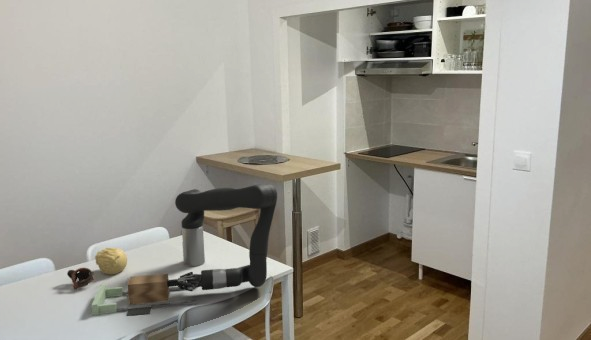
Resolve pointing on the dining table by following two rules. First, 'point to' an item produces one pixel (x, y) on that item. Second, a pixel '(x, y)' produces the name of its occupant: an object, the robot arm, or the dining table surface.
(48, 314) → the dining table surface
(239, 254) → the dining table surface
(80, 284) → the pottery mug
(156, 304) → the lane rails
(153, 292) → the walnut block
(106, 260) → the sculpture
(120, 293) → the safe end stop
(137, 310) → the mats
